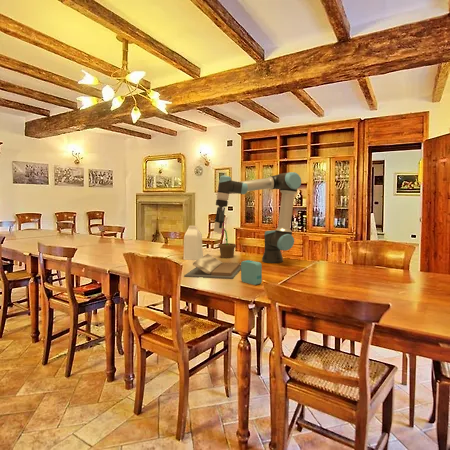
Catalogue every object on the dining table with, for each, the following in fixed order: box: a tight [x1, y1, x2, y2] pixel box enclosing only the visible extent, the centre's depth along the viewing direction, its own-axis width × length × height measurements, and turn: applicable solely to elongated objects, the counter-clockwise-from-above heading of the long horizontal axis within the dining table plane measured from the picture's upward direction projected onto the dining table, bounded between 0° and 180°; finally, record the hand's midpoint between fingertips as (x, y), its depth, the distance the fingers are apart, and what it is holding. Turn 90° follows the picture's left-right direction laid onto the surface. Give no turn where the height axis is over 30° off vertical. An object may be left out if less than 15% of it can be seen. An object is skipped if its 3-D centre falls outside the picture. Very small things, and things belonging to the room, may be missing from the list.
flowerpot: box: [217, 221, 237, 259], centre depth 265 cm, size 14×14×30 cm
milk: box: [183, 225, 204, 261], centre depth 261 cm, size 12×12×26 cm
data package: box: [240, 259, 263, 286], centre depth 186 cm, size 12×4×12 cm, turn 41°
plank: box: [192, 253, 223, 275], centre depth 217 cm, size 12×30×2 cm, turn 168°
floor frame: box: [184, 262, 241, 280], centre depth 216 cm, size 30×35×3 cm
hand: (217, 232), depth 215 cm, fingers open, 13 cm apart
